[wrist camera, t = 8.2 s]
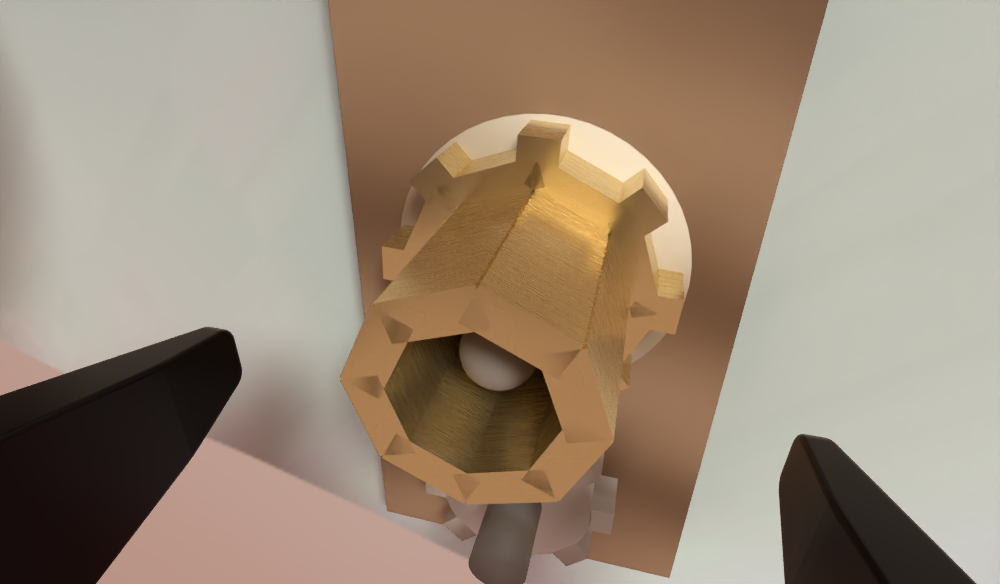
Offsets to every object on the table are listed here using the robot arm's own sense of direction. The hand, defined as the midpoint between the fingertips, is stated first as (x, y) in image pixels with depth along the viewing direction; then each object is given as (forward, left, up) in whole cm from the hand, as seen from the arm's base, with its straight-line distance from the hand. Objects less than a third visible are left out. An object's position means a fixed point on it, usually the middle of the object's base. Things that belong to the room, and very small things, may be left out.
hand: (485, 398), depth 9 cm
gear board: (0, 0, -6) cm, 6 cm away
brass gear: (0, 0, -5) cm, 5 cm away
